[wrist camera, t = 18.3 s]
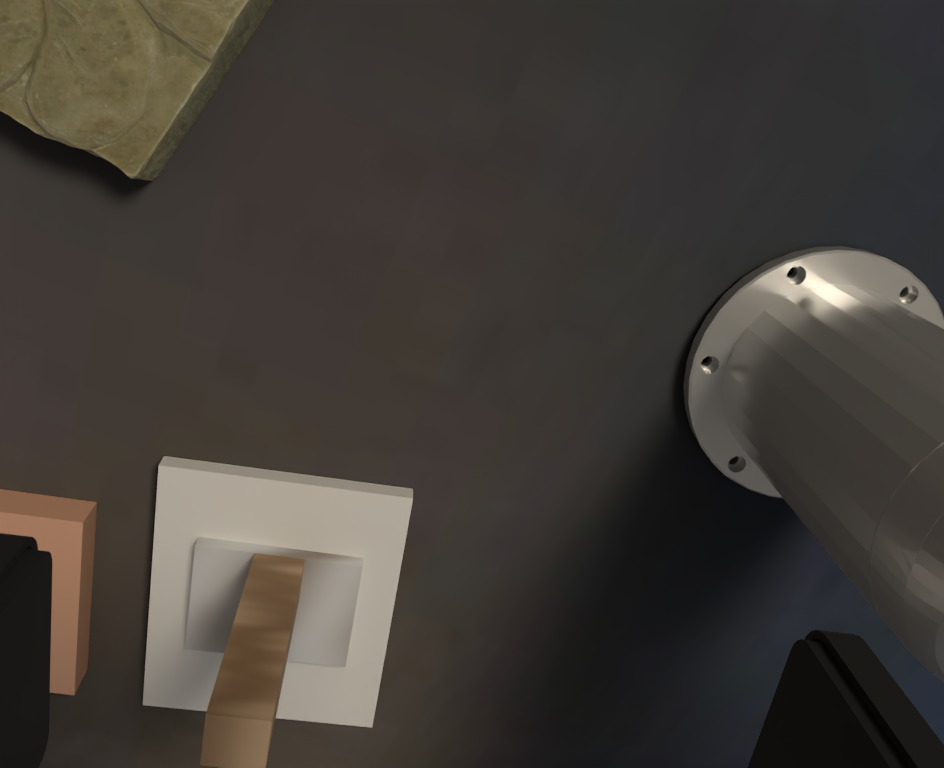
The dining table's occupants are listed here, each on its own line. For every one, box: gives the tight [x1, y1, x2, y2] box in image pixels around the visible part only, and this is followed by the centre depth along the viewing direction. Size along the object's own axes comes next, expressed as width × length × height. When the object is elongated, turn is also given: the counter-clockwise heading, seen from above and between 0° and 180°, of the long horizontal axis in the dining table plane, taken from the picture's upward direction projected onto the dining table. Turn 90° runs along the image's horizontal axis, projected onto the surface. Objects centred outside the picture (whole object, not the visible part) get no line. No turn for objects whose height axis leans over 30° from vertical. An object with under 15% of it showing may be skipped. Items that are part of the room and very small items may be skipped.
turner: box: [185, 537, 363, 768], centre depth 39 cm, size 8×6×12 cm
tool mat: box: [143, 456, 413, 727], centre depth 45 cm, size 12×14×1 cm
